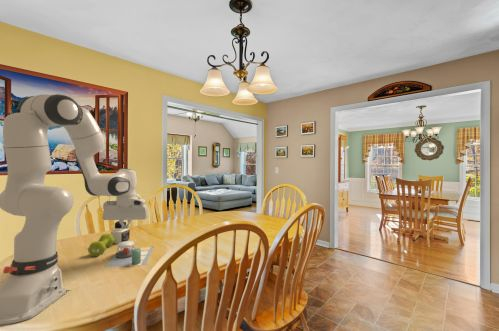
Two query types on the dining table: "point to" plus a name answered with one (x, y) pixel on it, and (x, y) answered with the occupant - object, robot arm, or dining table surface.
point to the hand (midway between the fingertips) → (125, 228)
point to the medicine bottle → (120, 233)
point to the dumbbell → (101, 245)
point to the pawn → (136, 256)
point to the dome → (125, 245)
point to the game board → (129, 257)
